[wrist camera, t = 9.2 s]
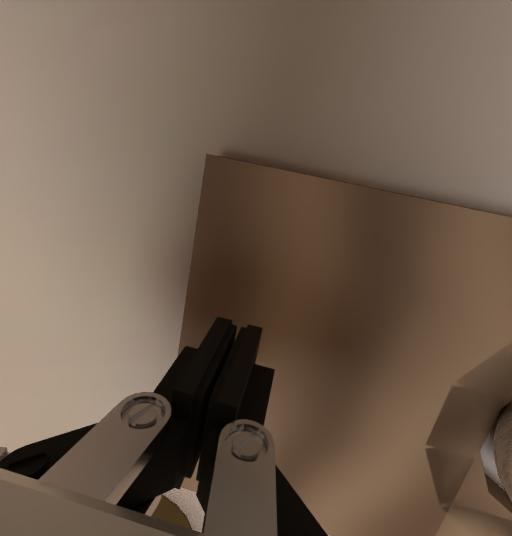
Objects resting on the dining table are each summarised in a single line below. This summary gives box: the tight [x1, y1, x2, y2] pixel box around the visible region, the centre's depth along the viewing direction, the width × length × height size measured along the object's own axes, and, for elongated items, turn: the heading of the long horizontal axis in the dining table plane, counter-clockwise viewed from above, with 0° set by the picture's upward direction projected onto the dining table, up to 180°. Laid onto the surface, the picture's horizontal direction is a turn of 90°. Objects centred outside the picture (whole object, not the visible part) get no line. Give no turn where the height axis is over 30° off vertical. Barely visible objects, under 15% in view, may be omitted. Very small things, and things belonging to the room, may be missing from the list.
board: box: [178, 154, 512, 536], centre depth 14 cm, size 24×16×2 cm, turn 79°
